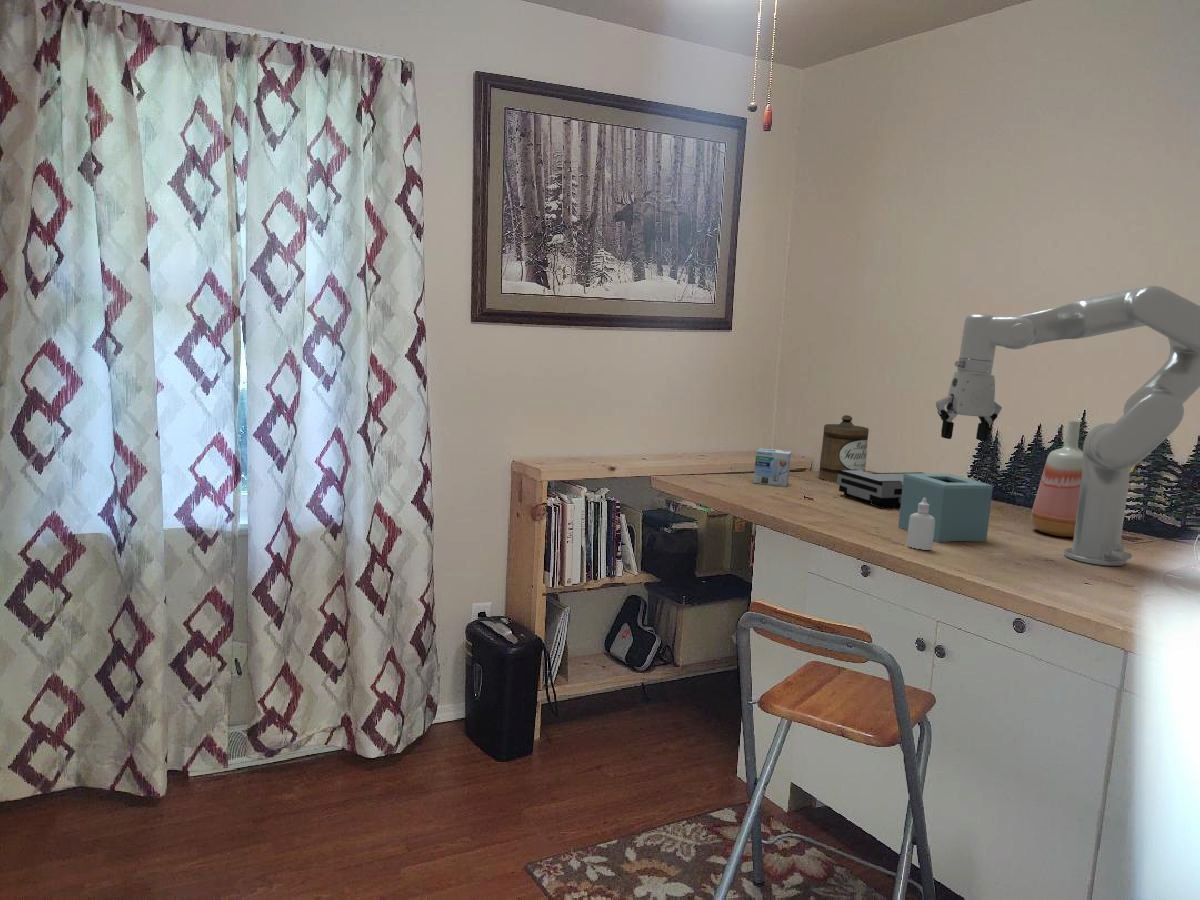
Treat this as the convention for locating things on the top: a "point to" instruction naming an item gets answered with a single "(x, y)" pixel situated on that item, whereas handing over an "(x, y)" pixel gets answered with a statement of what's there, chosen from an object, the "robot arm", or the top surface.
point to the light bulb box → (772, 467)
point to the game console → (873, 486)
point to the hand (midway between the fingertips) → (963, 439)
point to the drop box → (948, 505)
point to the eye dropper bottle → (921, 528)
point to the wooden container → (843, 448)
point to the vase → (1060, 488)
